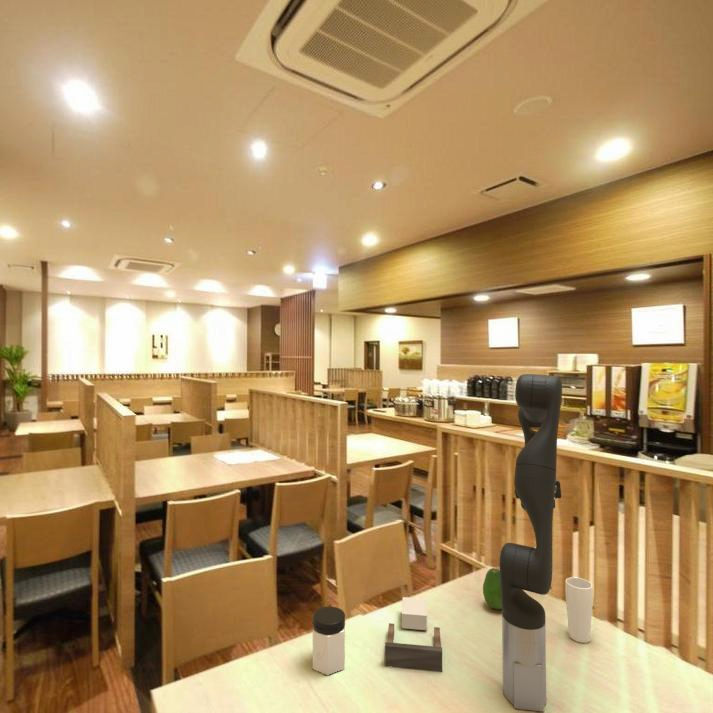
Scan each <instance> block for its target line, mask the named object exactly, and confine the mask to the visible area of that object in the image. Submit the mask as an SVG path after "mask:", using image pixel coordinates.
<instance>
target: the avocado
mask: <svg viewBox="0 0 713 713" xmlns="http://www.w3.org/2000/svg"><path fill="white" fill-rule="evenodd" d="M482 593H483V598H484V601H485V603H486V604H487V605H488V607H490V608H491V609H492V610H493V609H494V610H502V604H501V583H500V568H499V569H498V568H495V567H492V568H490V569H488V571H486V574H485V576H484V581H483V585H482Z"/></svg>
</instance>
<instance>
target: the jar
mask: <svg viewBox="0 0 713 713" xmlns="http://www.w3.org/2000/svg"><path fill="white" fill-rule="evenodd" d="M345 627H346V613H345V612H344V610H342V609H341V608H338V607H337V606H324V607H323V606H322V607H320V608H318V609H317V610H315V611H314V613H313V615H312V670H313V669H314V671H316V672H318V671H319V673H320V672H321V674H323V673H324V674H323V675H325V674H326V675H325V676H330V675H329V674H331V673H333V674H335V673H334V672H336V673H338V672H341V671H343V670H345V664H346V663H345V659H346V649H345V648H346V646H345V644H346V642H345V641H346V639H345V638H346V637H345V636H346V628H345ZM340 670H341V671H340ZM337 671H338V672H337ZM331 675H332V674H331Z"/></svg>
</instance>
